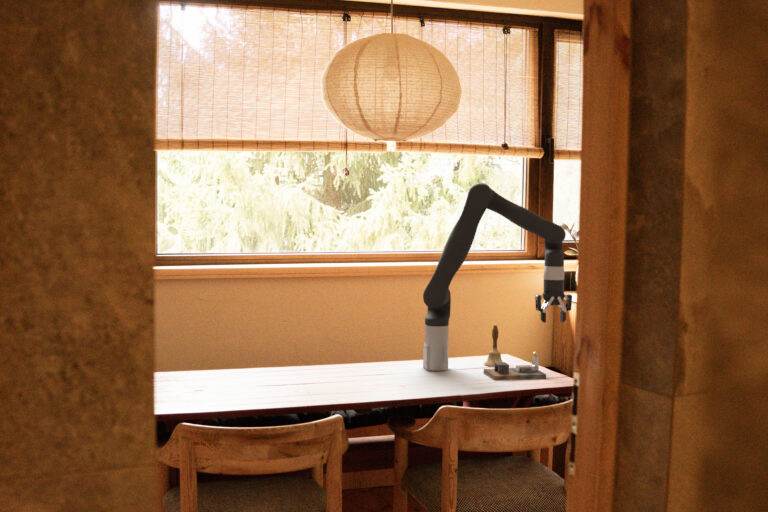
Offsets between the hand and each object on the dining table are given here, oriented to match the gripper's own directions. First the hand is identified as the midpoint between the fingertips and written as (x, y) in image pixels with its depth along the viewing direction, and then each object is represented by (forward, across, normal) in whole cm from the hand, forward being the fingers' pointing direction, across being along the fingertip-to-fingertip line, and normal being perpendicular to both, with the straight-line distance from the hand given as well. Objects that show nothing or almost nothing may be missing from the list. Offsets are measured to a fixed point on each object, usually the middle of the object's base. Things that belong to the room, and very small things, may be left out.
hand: (553, 322), depth 265 cm
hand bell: (+20, -16, +20) cm, 32 cm away
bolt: (+18, -10, 0) cm, 21 cm away
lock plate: (+20, -15, 0) cm, 25 cm away
